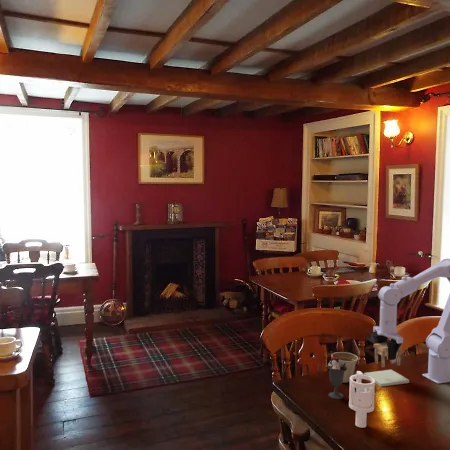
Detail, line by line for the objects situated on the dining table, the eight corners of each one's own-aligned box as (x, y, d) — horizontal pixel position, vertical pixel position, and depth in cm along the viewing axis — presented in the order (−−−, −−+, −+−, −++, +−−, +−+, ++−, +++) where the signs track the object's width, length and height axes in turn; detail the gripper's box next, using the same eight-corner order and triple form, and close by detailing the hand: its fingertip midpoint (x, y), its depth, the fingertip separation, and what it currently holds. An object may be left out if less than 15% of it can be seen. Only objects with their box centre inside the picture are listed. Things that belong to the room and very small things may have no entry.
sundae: (323, 391, 156) (324, 349, 155) (342, 391, 157) (343, 348, 155) (329, 400, 149) (330, 356, 148) (349, 400, 150) (350, 355, 149)
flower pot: (354, 375, 171) (355, 352, 170) (359, 385, 161) (360, 361, 161) (329, 373, 172) (329, 351, 171) (332, 384, 162) (333, 360, 162)
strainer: (368, 419, 138) (370, 370, 136) (376, 431, 131) (378, 380, 129) (345, 419, 137) (346, 370, 136) (352, 431, 130) (354, 380, 129)
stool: (373, 362, 168) (373, 343, 168) (392, 360, 170) (392, 341, 170) (382, 367, 163) (382, 348, 162) (401, 365, 165) (401, 346, 165)
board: (391, 372, 174) (391, 369, 173) (409, 382, 164) (409, 380, 164) (363, 375, 170) (363, 373, 170) (380, 386, 160) (380, 383, 160)
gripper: (366, 315, 171) (365, 350, 172) (391, 326, 157) (390, 364, 158) (382, 314, 173) (381, 349, 174) (408, 324, 159) (407, 362, 160)
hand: (386, 356), depth 166 cm, fingers closed on stool, 5 cm apart
